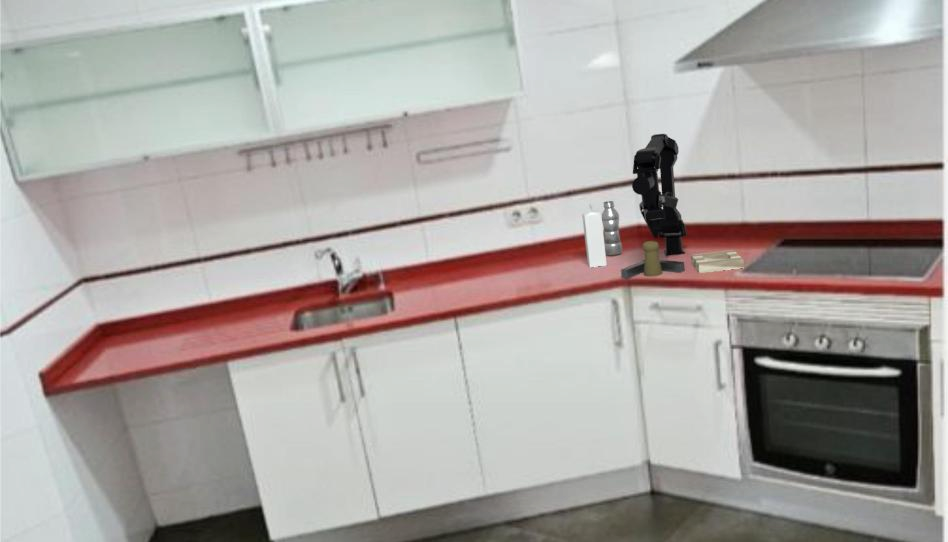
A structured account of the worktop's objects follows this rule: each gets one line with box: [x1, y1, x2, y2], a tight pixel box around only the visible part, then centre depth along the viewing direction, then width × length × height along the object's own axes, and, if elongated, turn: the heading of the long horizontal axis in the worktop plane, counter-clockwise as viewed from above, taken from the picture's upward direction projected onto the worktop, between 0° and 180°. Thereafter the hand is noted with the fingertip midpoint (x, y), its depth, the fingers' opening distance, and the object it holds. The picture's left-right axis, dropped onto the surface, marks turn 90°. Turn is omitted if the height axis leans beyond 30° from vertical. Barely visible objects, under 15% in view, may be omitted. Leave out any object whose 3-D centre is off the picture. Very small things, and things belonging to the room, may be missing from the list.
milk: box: [581, 203, 608, 269], centre depth 288 cm, size 6×6×22 cm
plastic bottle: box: [601, 200, 623, 256], centre depth 300 cm, size 6×7×20 cm
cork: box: [642, 240, 663, 277], centre depth 267 cm, size 6×6×11 cm
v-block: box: [620, 259, 686, 280], centre depth 271 cm, size 12×20×3 cm, turn 85°
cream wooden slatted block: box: [690, 249, 745, 274], centre depth 266 cm, size 14×14×3 cm
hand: (654, 235), depth 267 cm, fingers open, 9 cm apart
